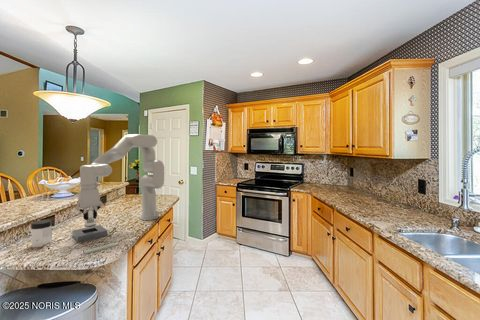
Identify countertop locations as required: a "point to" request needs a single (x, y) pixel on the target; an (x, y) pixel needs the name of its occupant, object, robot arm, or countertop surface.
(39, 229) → the jar
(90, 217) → the grey rounded knob
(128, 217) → the countertop surface
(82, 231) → the housing
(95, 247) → the mat
